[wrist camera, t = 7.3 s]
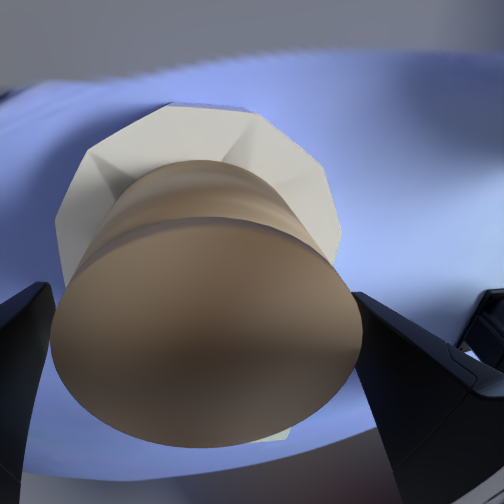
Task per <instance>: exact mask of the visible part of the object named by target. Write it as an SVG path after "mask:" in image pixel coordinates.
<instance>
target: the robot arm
mask: <svg viewBox="0 0 504 504" xmlns="http://www.w3.org/2000/svg"><path fill="white" fill-rule="evenodd" d="M351 294H352V296H353V297H354V299H355V301H356V303H357V306H358V309H359V312H360V315H361V320H362V329H363V333H362V345H361V349H360V353H359V357H358V360H357V362H356V364H355V369H356V371H357V374H358V377H359V379H360V382H361V385H362V387H363V390H364V392H365V395H366V398H367V401H368V403H369V406H370V409H371V411H372V414H373V417H374V420H375V422H376V425H377V428H378V431H379V434H380V436H381V439H382V442H383V445H384V448H385V451H386V454H387V457H388V460H389V463H390V466H391V469H392V471H393V476H394V479H395V482H396V485H397V488H398V491H399V494H400V497H401V501H402V504H504V289H502V290H490V291H488V292H487V293H486V294H485V296H484V298H483V300H482V301H481V303H480V305H479V307H478V309H477V311H476V313H475V315H474V316H473V318H472V320H471V322H470V324H469V325H468V327H467V329H466V330H465V332H464V334H463V336H462V337H461V339H460V341H459V342H458V344H457V345H456V347H454V346H452V345H450V344H449V343H446V342H445V341H444V340H442V339H440V338H439V337H437V336H435V335H434V334H432V333H430V332H429V331H427V330H425V329H424V328H422V327H420V326H419V325H417V324H415V323H414V322H412V321H410V320H408V319H407V318H405V317H403V316H402V315H400V314H398V313H397V312H395V311H393V310H392V309H390V308H388V307H387V306H385V305H383V304H381V303H380V302H378V301H376V300H375V299H373V298H371V297H369V296H368V295H366V294H364V293H363V292H351ZM55 311H56V307H55V302H54V298H53V294H52V290H51V286H50V284H49V283H48V282H35V283H33V284H32V285H30V286H29V287H27V288H25V289H24V290H22V291H21V292H19V293H18V294H16V295H14V296H13V297H11V298H10V299H8V300H7V301H5V302H4V303H2V304H1V305H0V504H19V500H20V488H21V483H20V482H21V476H22V468H23V461H24V454H25V448H26V442H27V436H28V430H29V425H30V420H31V415H32V411H33V406H34V402H35V398H36V393H37V389H38V385H39V382H40V378H41V374H42V370H43V367H44V363H45V359H46V356H47V351H48V346H49V340H50V334H51V325H52V321H53V318H54V314H55ZM471 350H472V351H473V353H474V354H475V355H476V356H477V358H478V359H479V360H480V361H481V362H480V361H478V360H476V359H474V358H473V357H471V356H469V355H467V354H465V353H464V352H468V351H471Z"/></svg>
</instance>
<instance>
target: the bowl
mask: <svg viewBox="0 0 504 504" xmlns="http://www.w3.org/2000/svg"><path fill="white" fill-rule="evenodd" d="M189 160H212V161H219V162H225V163H228V164H232V165H235V166H239V167H241V168H243V169H245V170H248V171H250V172H252V173H254V174H255V175H257V176H258V177H260V178H262V179H263V180H265V181H266V182H267V183H268V184H269V185H271V186H272V187H273V188H274V189H275V190H276V191H277V192H278V193H279V195H280V196H281V197H282V198H283V199H284V201H285V202H286V203H287V204H288V206H289V207H290V208H291V210H292V211H293V212H294V214H295V215H296V216H297V218H298V219H299V220H300V222H301V223H302V224H303V226H304V227H305V228H306V230H307V231H308V233H309V234H310V235H311V237H312V238H313V239H314V241H315V242H316V243H317V245H318V246H319V248H320V249H321V250H322V252H323V253H324V255H325V256H326V257H327V259H328V260H329V262H330V263H331V264H332V266H333V264H334V261H335V258H336V254H337V251H338V247H339V244H340V240H341V236H342V230H341V227H340V223H339V220H338V216H337V212H336V209H335V205H334V202H333V199H332V195H331V192H330V189H329V185H328V182H327V179H326V176H325V172H324V169H323V166H322V165H321V164H320V163H318V162H317V161H316V160H315V159H314V158H313V157H311V156H310V155H309V154H308V153H307V152H305V151H304V150H303V149H302V148H301V147H299V146H298V145H297V144H296V143H294V142H293V141H292V140H291V139H290V138H288V137H287V136H286V135H285V134H283V133H282V132H281V131H280V130H278V129H277V128H276V127H274V126H273V125H272V124H271V123H269V122H268V121H267V120H265V119H264V118H263V117H261V116H260V115H259V114H257V113H255V112H252V111H250V110H247V109H244V108H241V107H232V106H222V105H210V104H198V103H182V102H172V103H170V104H168V105H166V106H164V107H162V108H160V109H158V110H156V111H154V112H152V113H150V114H148V115H146V116H145V117H143V118H141V119H139V120H137V121H135V122H133V123H132V124H130V125H128V126H126V127H124V128H123V129H121V130H119V131H117V132H116V133H114V134H112V135H111V136H109V137H107V138H106V139H104V140H102V141H101V142H99V143H98V144H96V145H94V146H93V147H91V148H90V149H88V150H87V152H86V154H85V156H84V158H83V160H82V162H81V164H80V165H79V167H78V169H77V171H76V173H75V175H74V178H73V180H72V182H71V184H70V186H69V188H68V190H67V192H66V194H65V197H64V199H63V201H62V203H61V206H60V208H59V210H58V213H57V215H56V217H55V227H56V235H57V242H58V249H59V255H60V261H61V267H62V273H63V278H64V283H65V287H66V288H67V286H68V284H69V282H70V280H71V278H72V276H73V274H74V272H75V270H76V268H77V266H78V264H79V263H80V261H81V259H82V257H83V255H84V253H85V251H86V250H87V248H88V246H89V244H90V242H91V241H92V239H93V237H94V235H95V234H96V232H97V230H98V229H99V227H100V225H101V223H102V222H103V220H104V218H105V217H106V215H107V213H108V212H109V210H110V209H111V207H112V206H113V204H114V203H115V201H116V200H117V198H118V197H119V196H120V195H121V194H122V193H123V192H124V190H125V189H126V188H128V187H129V186H130V185H131V184H132V183H134V182H135V181H136V180H137V179H139V178H141V177H142V176H144V175H145V174H147V173H149V172H151V171H153V170H155V169H158V168H160V167H162V166H165V165H169V164H173V163H176V162H182V161H189Z"/></svg>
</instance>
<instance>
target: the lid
mask: <svg viewBox="0 0 504 504" xmlns="http://www.w3.org/2000/svg"><path fill="white" fill-rule="evenodd" d="M362 333H363V329H362V320H361V315H360V312H359V309H358V306H357V303H356V301H355V299H354V297H353V296H352V294H351V292H350V290H349V289H348V287H347V286H346V284H345V283H344V281H343V280H342V278H341V277H340V276H339V274H338V273H337V271H336V270H335V269H334V267H333V266H332V264H331V263H330V262H329V260H328V259H327V257H326V256H325V255H324V253H323V252H322V250H321V249H320V248H319V246H318V245H317V243H316V242H315V241H314V239H313V238H312V237H311V235H310V234H309V233H308V231H307V230H306V228H305V227H304V226H303V224H302V223H301V222H300V220H299V219H298V218H297V216H296V215H295V214H294V212H293V211H292V210H291V208H290V207H289V206H288V204H287V203H286V202H285V201H284V199H283V198H282V197H281V196H280V195H279V193H278V192H277V191H276V190H275V189H274V188H273V187H272V186H271V185H269V184H268V183H267V182H266V181H265V180H263V179H262V178H260V177H258V176H257V175H255V174H254V173H252V172H250V171H248V170H245V169H243V168H241V167H239V166H235V165H232V164H228V163H225V162H219V161H212V160H189V161H182V162H176V163H173V164H169V165H165V166H162V167H160V168H158V169H155V170H153V171H151V172H149V173H147V174H145V175H144V176H142V177H141V178H139V179H137V180H136V181H135V182H134V183H132V184H131V185H130V186H129V187H128V188H126V189H125V190H124V192H123V193H122V194H121V195H120V196H119V197H118V198H117V200H116V201H115V203H114V204H113V206H112V207H111V209H110V210H109V212H108V213H107V215H106V217H105V218H104V220H103V222H102V223H101V225H100V227H99V229H98V230H97V232H96V234H95V235H94V237H93V239H92V241H91V242H90V244H89V246H88V248H87V250H86V251H85V253H84V255H83V257H82V259H81V261H80V263H79V264H78V266H77V268H76V270H75V272H74V274H73V276H72V278H71V280H70V282H69V284H68V286H67V288H66V290H65V292H64V294H63V296H62V298H61V300H60V302H59V304H58V307H57V309H56V311H55V314H54V318H53V321H52V325H51V334H50V346H51V354H52V358H53V362H54V365H55V368H56V371H57V373H58V375H59V377H60V379H61V381H62V382H63V384H64V385H65V387H66V388H67V390H68V391H69V393H70V394H71V395H72V396H73V397H74V398H75V399H76V401H77V402H78V403H79V404H80V405H81V406H82V407H84V408H85V409H86V410H87V411H88V412H89V413H91V414H92V415H93V416H95V417H96V418H98V419H99V420H100V421H102V422H103V423H105V424H107V425H109V426H111V427H112V428H114V429H116V430H118V431H121V432H123V433H125V434H127V435H130V436H133V437H136V438H139V439H142V440H145V441H149V442H153V443H157V444H162V445H167V446H174V447H184V448H217V447H226V446H234V445H239V444H244V443H249V442H253V441H256V440H260V439H263V438H266V437H269V436H272V435H274V434H277V433H280V432H282V431H284V430H286V429H288V428H290V427H292V426H294V425H296V424H298V423H300V422H301V421H303V420H305V419H306V418H308V417H309V416H311V415H312V414H314V413H315V412H317V411H318V410H319V409H320V408H322V407H323V406H324V405H325V404H326V403H328V402H329V401H330V400H331V399H332V398H333V396H334V395H335V394H336V393H337V392H338V391H339V390H340V389H341V387H342V386H343V385H344V384H345V382H346V381H347V379H348V377H349V376H350V374H351V373H352V371H353V369H354V367H355V364H356V362H357V360H358V357H359V353H360V349H361V345H362Z"/></svg>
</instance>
